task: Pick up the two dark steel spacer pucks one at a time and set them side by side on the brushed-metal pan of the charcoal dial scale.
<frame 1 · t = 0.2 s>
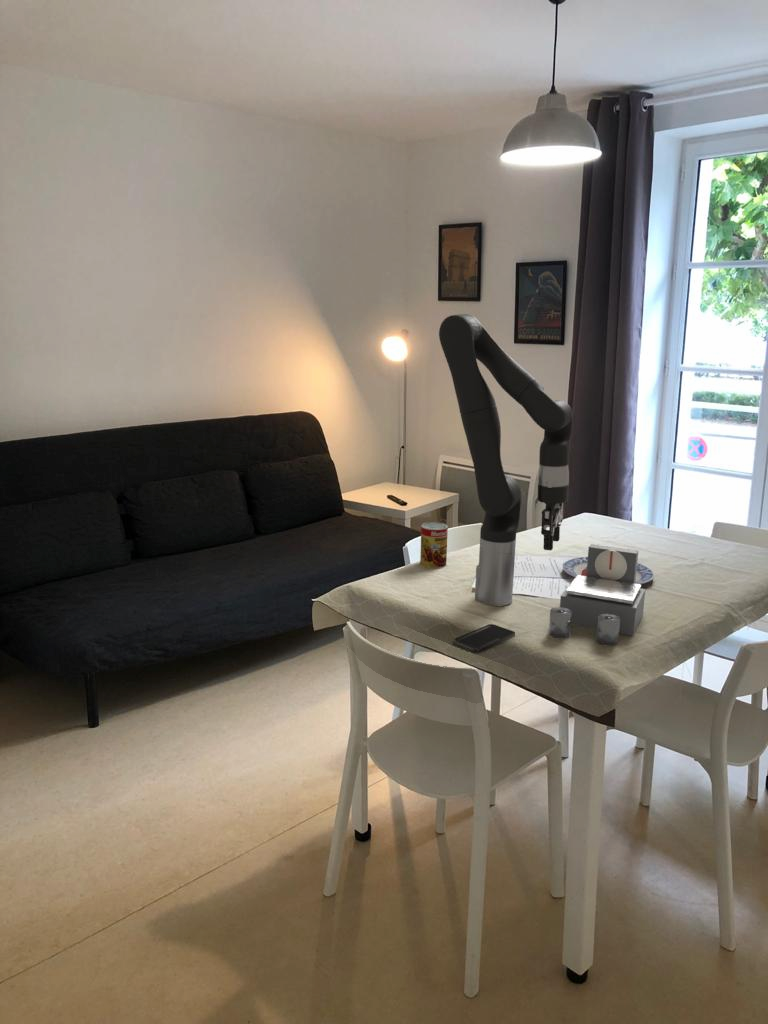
hand: (551, 545, 209), 17 cm above the table, tool pointing down, fingers open, 8 cm apart
ceramic plate: (607, 577, 241), on the table
steel spacer 1: (606, 641, 194), on the table
steel spacer 2: (559, 634, 197), on the table
phone: (484, 641, 194), on the table
canned food: (433, 564, 248), on the table
scale: (601, 618, 208), on the table
scale pan: (604, 588, 206), point 8 cm above the table, slide at -0.1 cm
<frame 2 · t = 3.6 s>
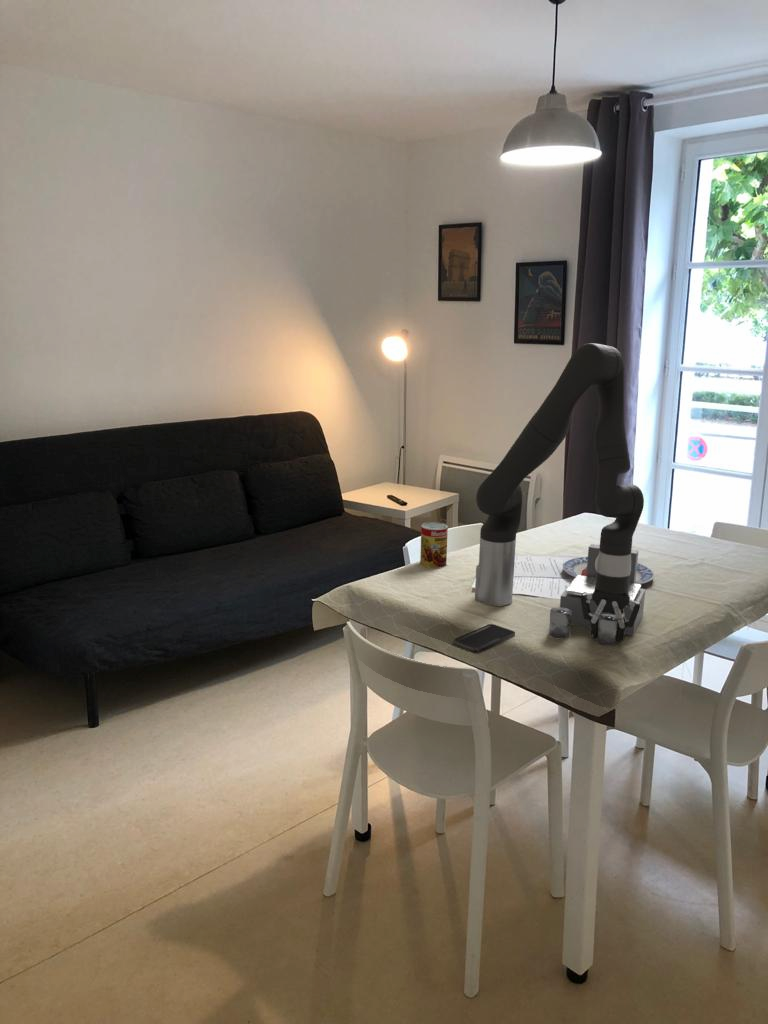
hand: (607, 639, 194), 1 cm above the table, tool pointing down, fingers closed on steel spacer 1, 5 cm apart
steel spacer 1: (606, 641, 194), on the table, touching gripper
everything else where it was.
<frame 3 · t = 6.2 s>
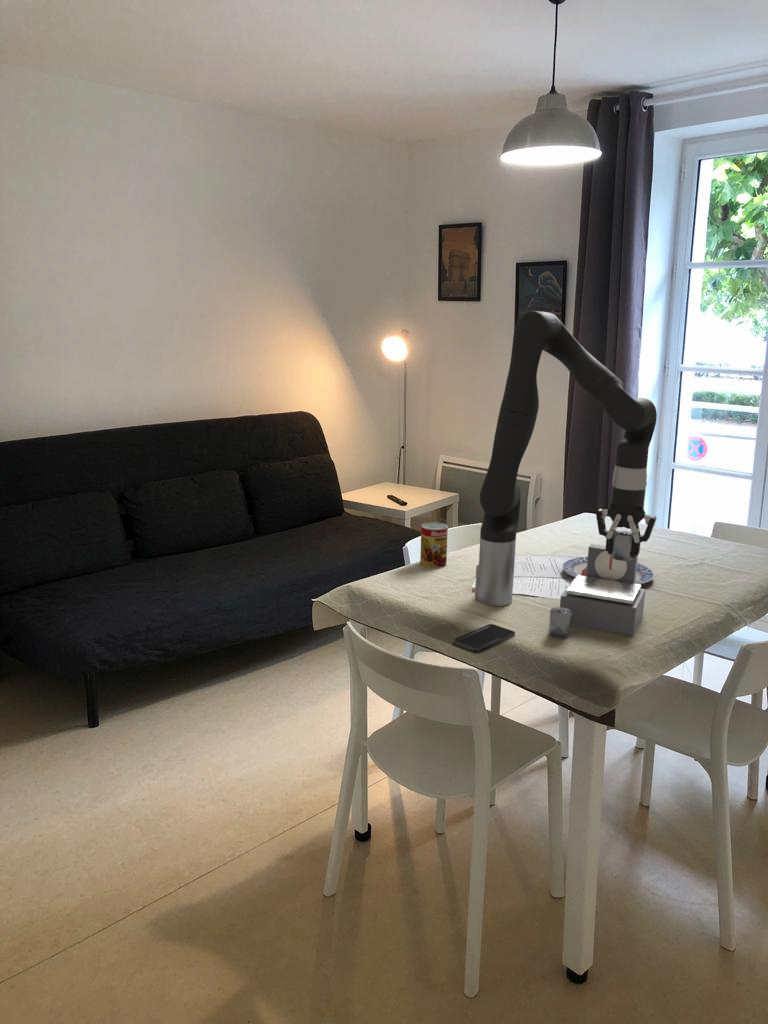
hand: (622, 554, 196), 19 cm above the table, tool pointing down, fingers closed on steel spacer 1, 5 cm apart
steel spacer 1: (621, 557, 196), point 19 cm above the table, touching gripper
everything else where it was.
when the fingers open (11 cm above the table, at t = 8.6 s): steel spacer 1 drops 2 cm, resting on scale pan.
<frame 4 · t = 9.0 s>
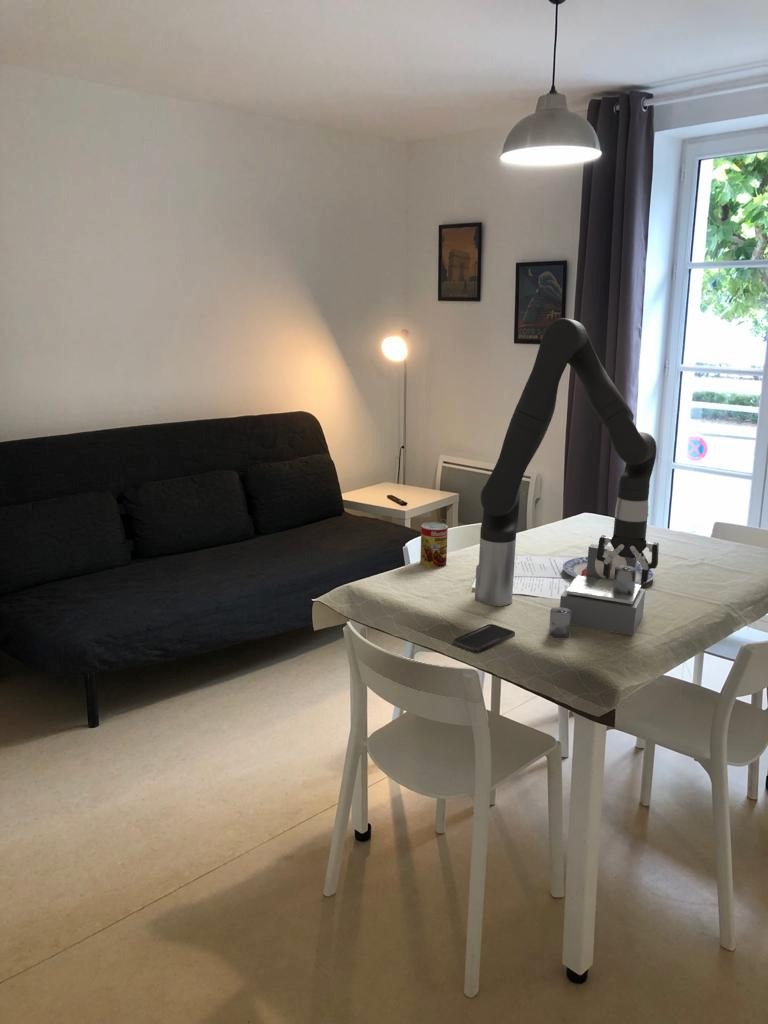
hand: (625, 580, 202), 11 cm above the table, tool pointing down, fingers open, 8 cm apart
steel spacer 1: (623, 591, 203), point 8 cm above the table, touching scale pan
scale pan: (603, 589, 206), point 8 cm above the table, slide at -0.2 cm, touching steel spacer 1
everything else where it was.
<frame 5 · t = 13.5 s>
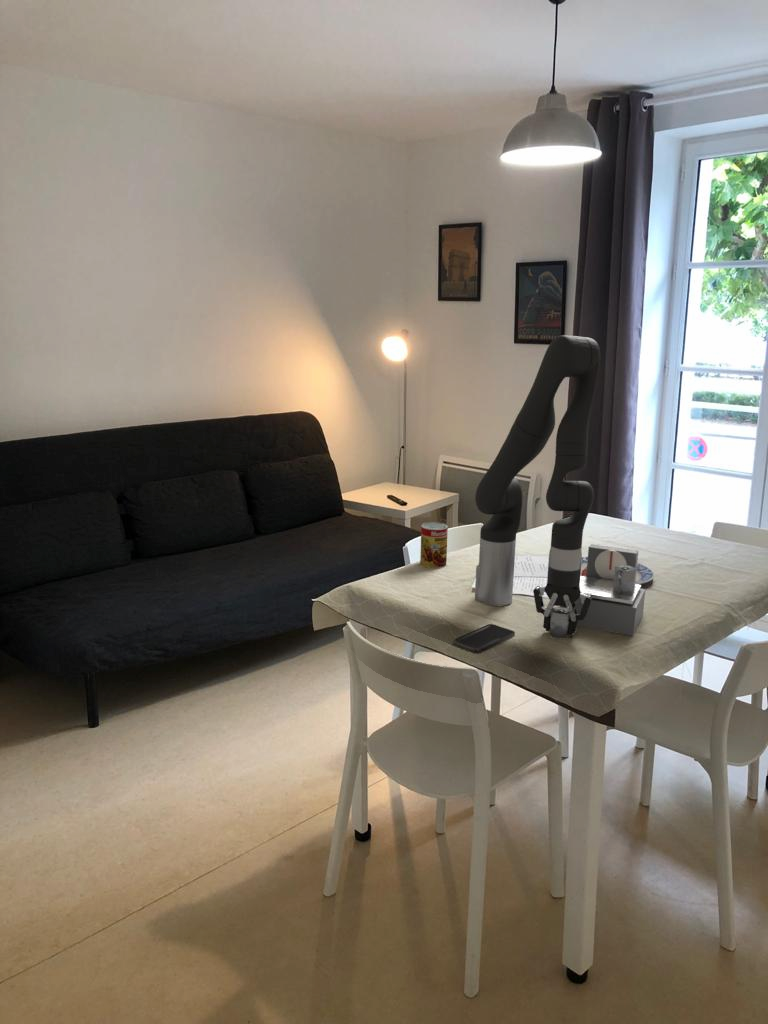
hand: (559, 632, 197), 1 cm above the table, tool pointing down, fingers closed on steel spacer 2, 5 cm apart
steel spacer 2: (559, 634, 197), on the table, touching gripper
everything else where it was.
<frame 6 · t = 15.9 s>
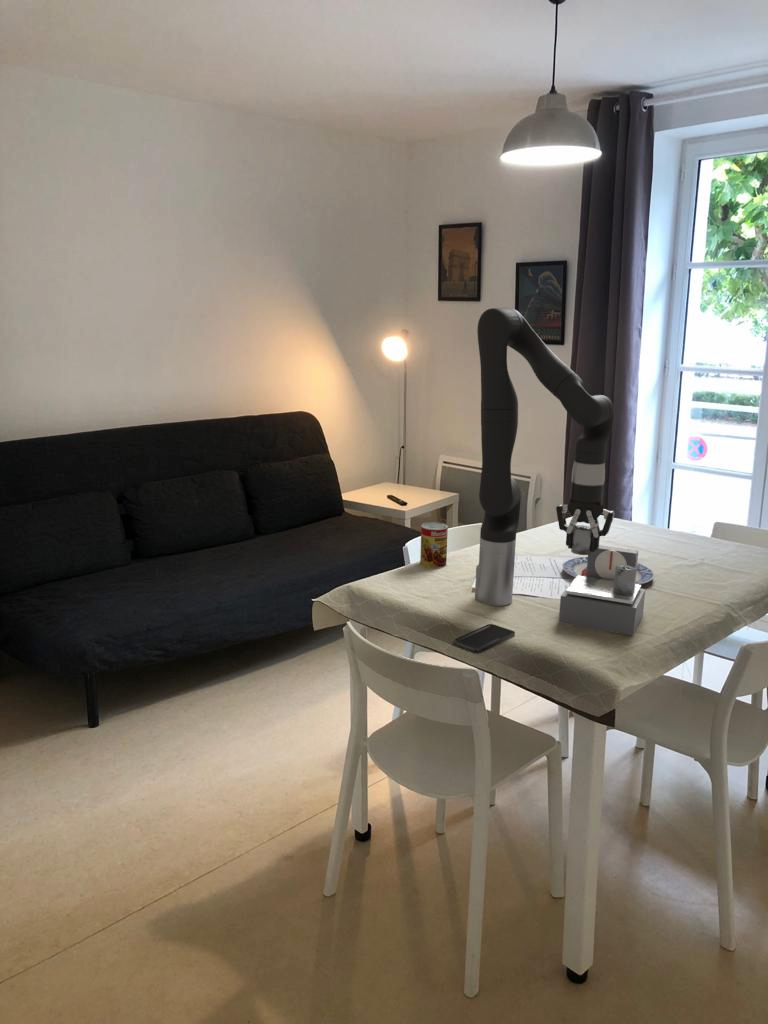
hand: (582, 549, 199), 19 cm above the table, tool pointing down, fingers closed on steel spacer 2, 5 cm apart
steel spacer 2: (581, 551, 199), point 19 cm above the table, touching gripper
everything else where it was.
when the fingers open (11 cm above the table, at t = 18.4 s): steel spacer 2 drops 2 cm, resting on scale pan.
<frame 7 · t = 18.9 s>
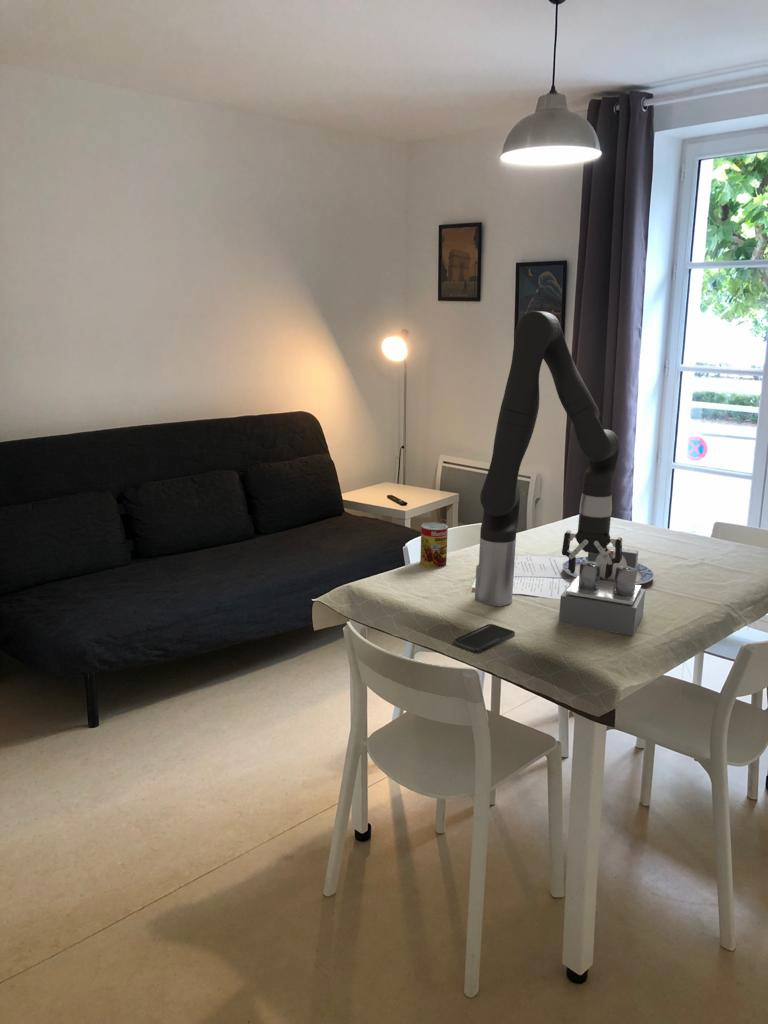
hand: (589, 575, 206), 11 cm above the table, tool pointing down, fingers open, 8 cm apart
steel spacer 1: (623, 592, 203), point 8 cm above the table, touching gripper, scale pan
steel spacer 2: (588, 587, 206), point 8 cm above the table, touching scale pan
scale pan: (603, 589, 206), point 8 cm above the table, slide at -0.4 cm, touching steel spacer 1, steel spacer 2
everything else where it was.
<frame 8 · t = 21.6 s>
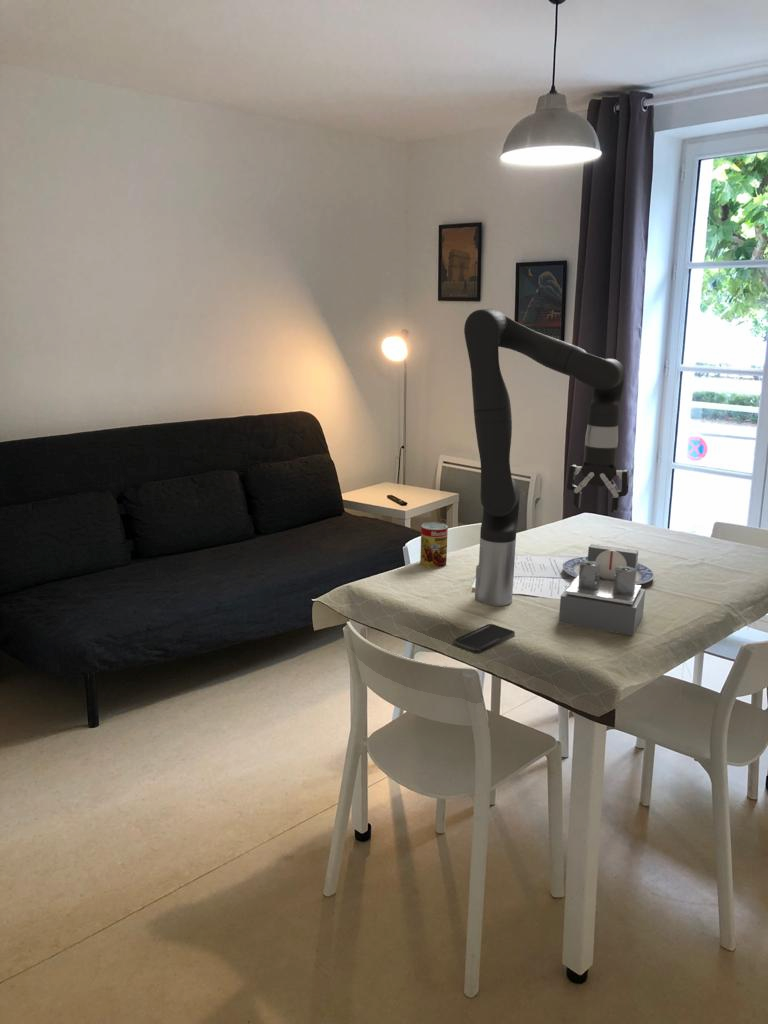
hand: (595, 509, 201), 28 cm above the table, tool pointing down, fingers open, 8 cm apart
steel spacer 1: (623, 592, 203), point 8 cm above the table, touching scale pan
everything else where it was.
at the end: steel spacer 1 inside the target area on the scale (5.0 cm from its centre), point 8.2 cm above the scale's base; steel spacer 2 inside the target area on the scale (3.7 cm from its centre), point 8.2 cm above the scale's base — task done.
